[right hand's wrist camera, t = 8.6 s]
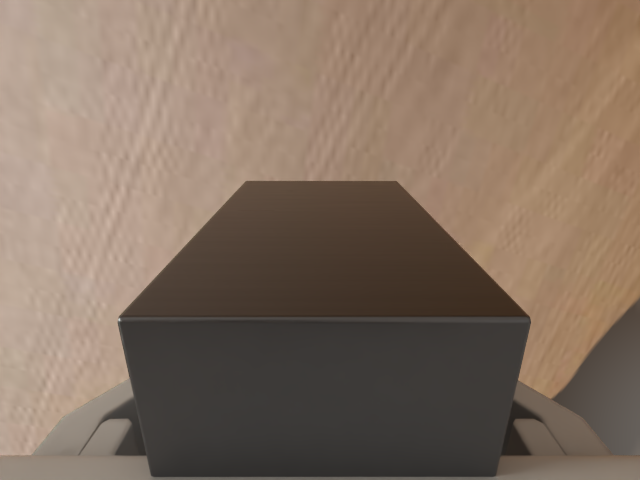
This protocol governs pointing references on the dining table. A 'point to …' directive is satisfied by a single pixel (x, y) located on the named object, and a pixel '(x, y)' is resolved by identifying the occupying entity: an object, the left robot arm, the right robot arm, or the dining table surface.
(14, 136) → the dining table surface
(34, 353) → the dining table surface
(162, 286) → the bar
